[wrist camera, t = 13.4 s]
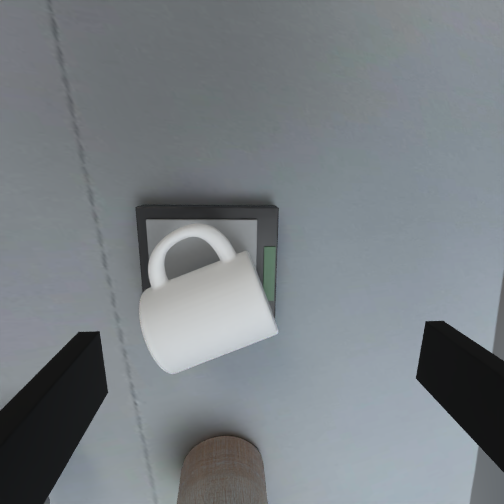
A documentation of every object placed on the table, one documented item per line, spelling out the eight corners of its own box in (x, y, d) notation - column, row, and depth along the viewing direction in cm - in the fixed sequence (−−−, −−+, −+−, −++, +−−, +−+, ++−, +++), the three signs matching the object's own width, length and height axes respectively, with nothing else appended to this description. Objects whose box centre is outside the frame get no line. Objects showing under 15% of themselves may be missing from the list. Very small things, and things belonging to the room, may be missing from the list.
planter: (254, 497, 41) (262, 590, 32) (177, 492, 39) (162, 588, 30) (269, 435, 38) (283, 516, 29) (188, 428, 37) (176, 510, 28)
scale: (274, 205, 31) (279, 207, 28) (271, 322, 34) (274, 335, 32) (142, 204, 30) (133, 207, 27) (151, 326, 33) (145, 339, 30)
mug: (271, 308, 31) (286, 351, 23) (185, 341, 31) (171, 395, 23) (230, 204, 28) (231, 213, 20) (135, 241, 28) (99, 264, 20)
